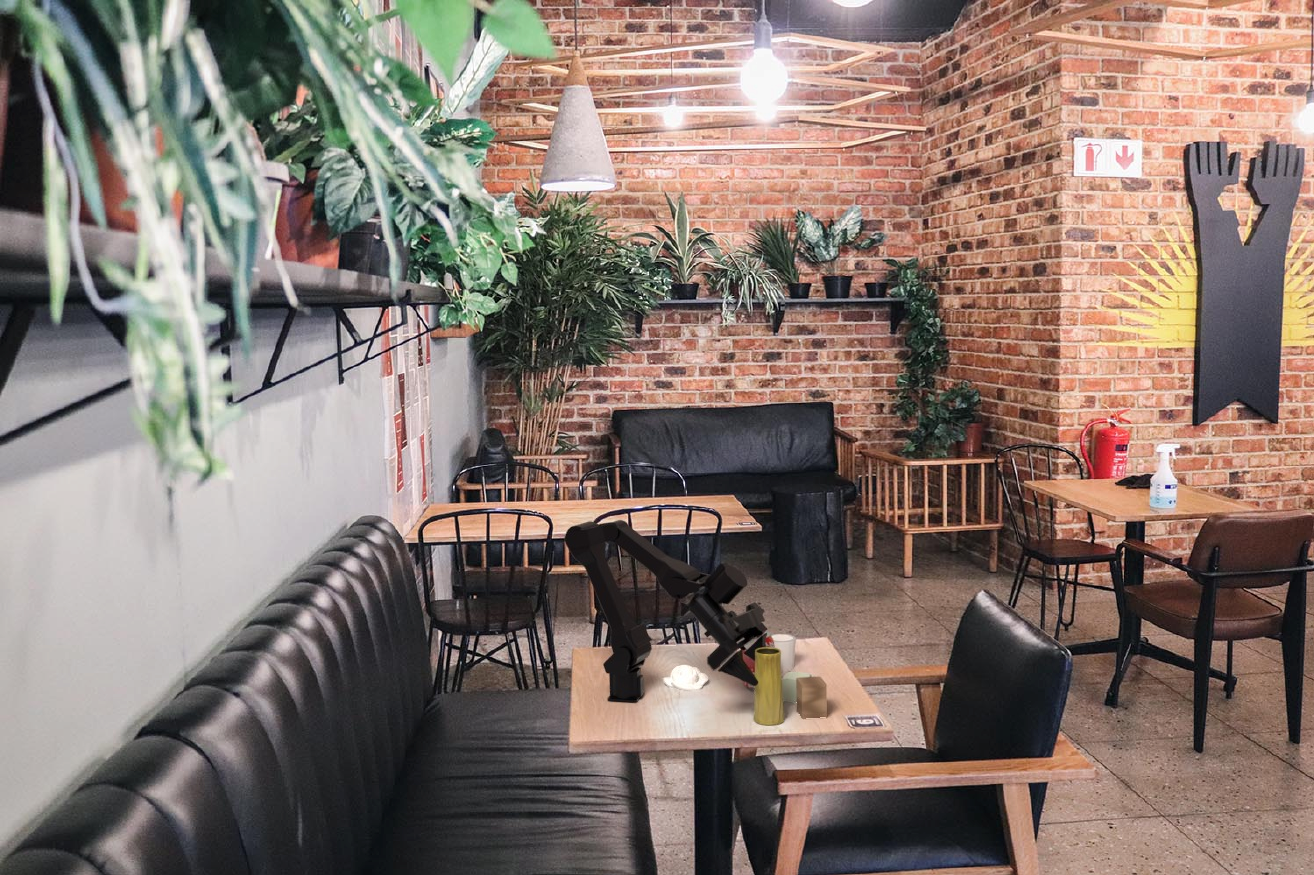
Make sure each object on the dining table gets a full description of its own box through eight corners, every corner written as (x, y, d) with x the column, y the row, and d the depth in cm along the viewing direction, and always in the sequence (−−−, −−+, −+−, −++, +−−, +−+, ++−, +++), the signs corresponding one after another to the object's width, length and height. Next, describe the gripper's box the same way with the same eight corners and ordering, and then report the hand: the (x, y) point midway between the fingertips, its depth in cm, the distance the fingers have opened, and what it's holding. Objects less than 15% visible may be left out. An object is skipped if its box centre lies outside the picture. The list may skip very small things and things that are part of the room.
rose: (702, 658, 243) (712, 670, 233) (702, 677, 243) (713, 690, 234) (659, 661, 241) (667, 674, 232) (659, 680, 242) (668, 694, 232)
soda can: (775, 681, 238) (774, 629, 237) (775, 692, 231) (774, 638, 230) (743, 681, 239) (742, 628, 238) (742, 692, 232) (741, 637, 231)
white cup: (761, 665, 250) (760, 636, 250) (786, 661, 253) (786, 632, 252) (776, 673, 244) (776, 643, 243) (802, 668, 247) (801, 639, 246)
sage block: (782, 701, 226) (781, 678, 225) (788, 693, 230) (788, 671, 230) (805, 704, 224) (804, 680, 223) (811, 696, 228) (811, 673, 228)
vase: (759, 727, 211) (759, 656, 209) (749, 716, 216) (748, 647, 215) (788, 723, 212) (788, 653, 211) (777, 713, 218) (776, 645, 217)
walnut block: (802, 719, 214) (802, 685, 214) (796, 711, 219) (796, 677, 219) (826, 718, 215) (826, 684, 214) (820, 709, 220) (820, 676, 219)
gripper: (720, 603, 207) (774, 666, 202) (757, 583, 223) (808, 640, 219) (684, 639, 211) (737, 701, 207) (724, 616, 227) (773, 673, 223)
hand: (765, 677), depth 214 cm, fingers open, 9 cm apart
